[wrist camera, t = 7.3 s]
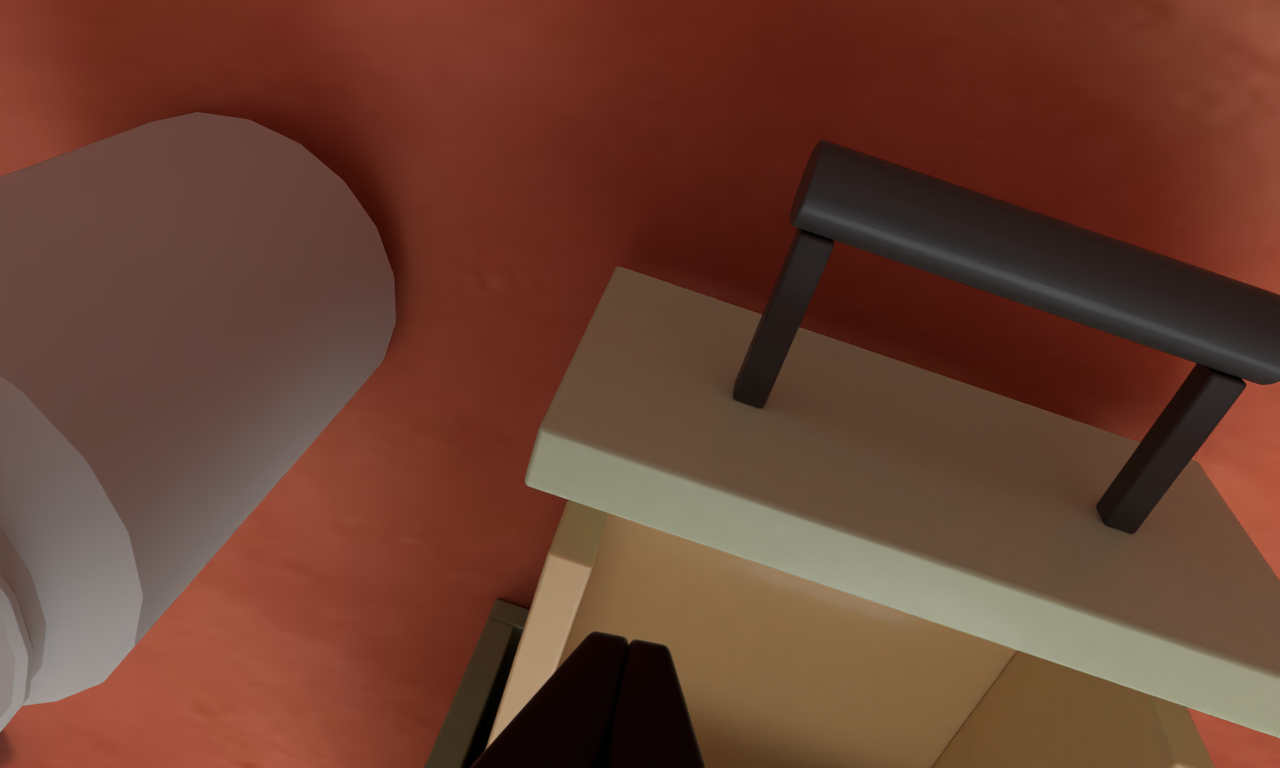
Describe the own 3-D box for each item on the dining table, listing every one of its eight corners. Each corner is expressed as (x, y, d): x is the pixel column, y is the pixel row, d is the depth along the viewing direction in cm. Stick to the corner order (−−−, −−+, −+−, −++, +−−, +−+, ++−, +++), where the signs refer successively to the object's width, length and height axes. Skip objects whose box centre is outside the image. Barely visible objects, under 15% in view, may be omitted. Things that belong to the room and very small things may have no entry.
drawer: (683, 45, 17) (622, 128, 11) (1343, 270, 17) (1624, 469, 11) (486, 694, 27) (398, 921, 21) (911, 835, 27) (943, 1101, 21)
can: (378, 99, 19) (-101, 342, 9) (434, 400, 23) (137, 820, 13) (71, 107, 21) (-660, 330, 10) (170, 392, 24) (-300, 770, 14)
